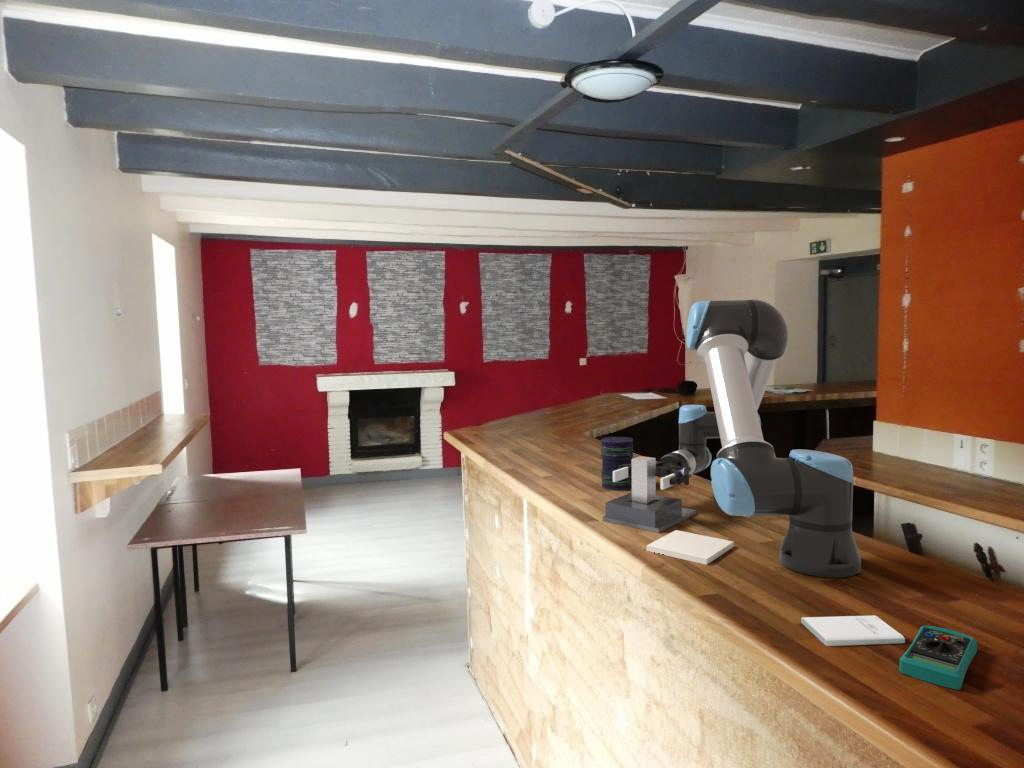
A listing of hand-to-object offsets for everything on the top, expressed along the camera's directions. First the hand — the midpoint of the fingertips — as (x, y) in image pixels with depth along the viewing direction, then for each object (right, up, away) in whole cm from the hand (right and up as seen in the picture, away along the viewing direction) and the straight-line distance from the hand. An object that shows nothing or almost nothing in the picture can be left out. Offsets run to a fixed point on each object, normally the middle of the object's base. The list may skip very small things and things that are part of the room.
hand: (637, 480), depth 164 cm
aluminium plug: (+2, -10, +3) cm, 11 cm away
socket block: (+4, -11, +6) cm, 13 cm away
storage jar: (+1, -8, +39) cm, 39 cm away
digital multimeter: (+31, -17, -69) cm, 77 cm away
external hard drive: (+23, -16, -59) cm, 66 cm away
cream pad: (+8, -12, -19) cm, 24 cm away
